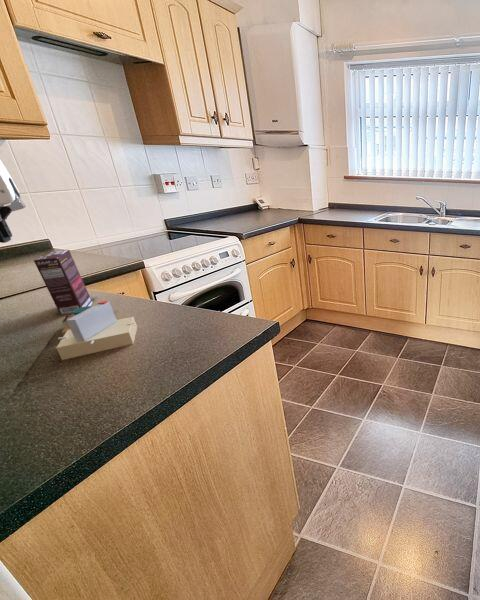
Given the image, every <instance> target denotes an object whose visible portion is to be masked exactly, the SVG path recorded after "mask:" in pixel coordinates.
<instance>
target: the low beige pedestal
mask: <svg viewBox="0 0 480 600" xmlns="http://www.w3.org/2000/svg"><path fill="white" fill-rule="evenodd" d="M137 331H138V325H137V323H136V320H135V317H134V316H130V317H124V318H120V319H117V322H115V323H113V324H112V325H110V326H108V327H107V328H105V329H104V330H102V331H100V332H99V333H97V334H95V335H94V336H92V337H91V338H89V339H87V340H86V341H76V340H75V337H74V335H73V333H72V331H71V329H69V330H67V332H66V333H65V335H64V336H63V335H62V336H61V337H58V338H57V340H60V341H59V343H58V344H57V346H56V347H55V349H56V350H57V353H58V354H59V357H60V358H61V360H62V361H65V360H68V359H73V358H76V357H83V356H86V355H90V354H95V353H99V352H103V351H107V350H112V349H116V348H121V347H126V346H130V345H133V344H134V343H135V339H136V334H137Z"/></svg>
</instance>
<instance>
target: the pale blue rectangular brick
mask: <svg viewBox="0 0 480 600" xmlns="http://www.w3.org/2000/svg"><path fill="white" fill-rule="evenodd" d="M66 319H67V318H66ZM117 320H118V319H117V316H116V314H115V312H114V310H113V307H112V305H111V302H110V301H108V300H101V301H99V302H97V303H96V304H95V305H93V306H92V307H91V308H89V309H87V310H85V311H83V312H81V313H79V314H77V315H75V316H73V317H71V318H69V319H67V320H66V322H67V324H68V325H69V327H70V329H71V331H72V333H73V335H74V337H75V340H76V341H86V340H87V339H89V338H91V337H92V336H94V335H95V334H97V333H99V332H100V331H102V330H104V329H105V328H107V327H108V326H110V325H112V324H113V323H115V322H117Z"/></svg>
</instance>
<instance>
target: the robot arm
mask: <svg viewBox="0 0 480 600" xmlns="http://www.w3.org/2000/svg"><path fill="white" fill-rule="evenodd" d="M26 207H27V205H26V204H25V203H24V202H23V200H22V198H21V194H20V191H19V189H18V187H17V185H16V183H15V181H14V180H13V177H12V176H11V173H9V170H8V169H7V167H6V166H5V165H4V162H3V161H2V160H1V159H0V243H1V244H5V243H8V242H10V241H12V237H13V234H12V233H13V232H12V231H11V229H10V227H9V224H8V223H7V221H6V220H7V219H8V217H9V216H10V215H11V214H12V213H13V212H16V211H19V210H23V209H25V208H26Z"/></svg>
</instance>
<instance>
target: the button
mask: <svg viewBox="0 0 480 600" xmlns="http://www.w3.org/2000/svg"><path fill="white" fill-rule="evenodd" d="M91 307H93V306H92V305H91V306H86V307H81V308H78V309H75V310H74V311H73V314H74V316H75V315H77V314H79V313H81V312H83V311H85V310H87V309H89V308H91Z"/></svg>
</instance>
